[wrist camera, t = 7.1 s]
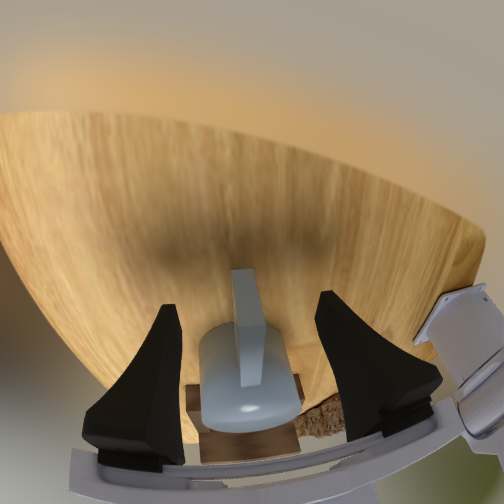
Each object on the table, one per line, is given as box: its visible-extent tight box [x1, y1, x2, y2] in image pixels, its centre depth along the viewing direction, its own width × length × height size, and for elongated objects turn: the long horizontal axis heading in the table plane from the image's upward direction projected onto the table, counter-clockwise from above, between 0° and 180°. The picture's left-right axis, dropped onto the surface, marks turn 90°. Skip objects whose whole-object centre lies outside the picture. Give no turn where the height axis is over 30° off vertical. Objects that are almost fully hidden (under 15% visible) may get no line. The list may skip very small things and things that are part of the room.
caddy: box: [186, 374, 305, 465], centre depth 25 cm, size 12×9×7 cm
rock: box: [294, 393, 346, 439], centre depth 32 cm, size 15×10×6 cm
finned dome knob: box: [199, 268, 302, 433], centre depth 17 cm, size 7×13×6 cm, turn 179°
